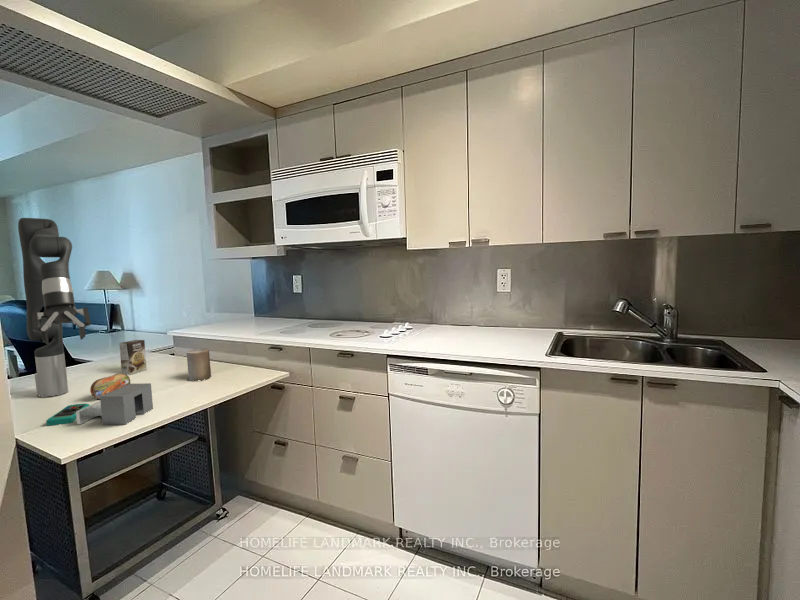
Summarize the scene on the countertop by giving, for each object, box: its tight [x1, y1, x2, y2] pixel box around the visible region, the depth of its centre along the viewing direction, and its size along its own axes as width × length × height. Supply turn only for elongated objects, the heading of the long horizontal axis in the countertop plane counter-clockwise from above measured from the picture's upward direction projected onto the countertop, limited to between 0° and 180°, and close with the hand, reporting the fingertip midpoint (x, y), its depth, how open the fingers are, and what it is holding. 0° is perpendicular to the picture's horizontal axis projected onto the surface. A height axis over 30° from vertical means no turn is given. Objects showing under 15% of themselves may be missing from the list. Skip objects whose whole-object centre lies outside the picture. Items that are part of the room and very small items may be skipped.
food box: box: [119, 339, 148, 375], centre depth 196 cm, size 9×6×16 cm
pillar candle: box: [185, 347, 212, 382], centre depth 183 cm, size 10×10×15 cm
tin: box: [89, 373, 131, 400], centre depth 161 cm, size 15×3×8 cm, turn 162°
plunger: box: [76, 400, 102, 425], centre depth 141 cm, size 13×21×4 cm, turn 178°
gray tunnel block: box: [99, 382, 154, 426], centre depth 137 cm, size 8×14×10 cm, turn 178°
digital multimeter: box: [45, 403, 91, 427], centre depth 139 cm, size 7×15×3 cm, turn 18°
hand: (65, 341), depth 124 cm, fingers open, 8 cm apart
